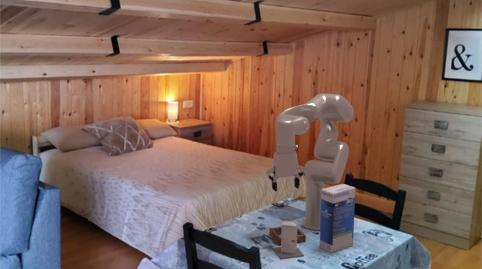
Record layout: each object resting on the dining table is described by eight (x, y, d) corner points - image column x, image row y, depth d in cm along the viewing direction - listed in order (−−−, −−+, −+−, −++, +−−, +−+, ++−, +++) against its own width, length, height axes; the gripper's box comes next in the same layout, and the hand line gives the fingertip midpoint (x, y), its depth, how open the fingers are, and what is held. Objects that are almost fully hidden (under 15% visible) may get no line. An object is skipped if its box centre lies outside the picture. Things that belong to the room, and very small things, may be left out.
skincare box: (280, 252, 199) (280, 224, 196) (282, 247, 203) (283, 220, 200) (295, 254, 197) (295, 226, 194) (297, 249, 201) (297, 222, 199)
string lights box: (341, 239, 212) (343, 183, 207) (354, 245, 206) (356, 187, 201) (318, 247, 205) (320, 188, 200) (331, 253, 199) (333, 193, 194)
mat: (294, 246, 206) (294, 245, 206) (303, 256, 196) (303, 254, 196) (272, 249, 203) (272, 247, 203) (280, 259, 194) (280, 258, 194)
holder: (295, 231, 222) (295, 225, 221) (305, 242, 210) (305, 235, 209) (269, 234, 218) (269, 228, 218) (278, 245, 207) (278, 238, 206)
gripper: (301, 145, 203) (301, 183, 207) (262, 149, 198) (263, 188, 202) (309, 149, 196) (308, 189, 200) (268, 153, 191) (269, 194, 195)
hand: (285, 189), depth 201 cm, fingers open, 9 cm apart
